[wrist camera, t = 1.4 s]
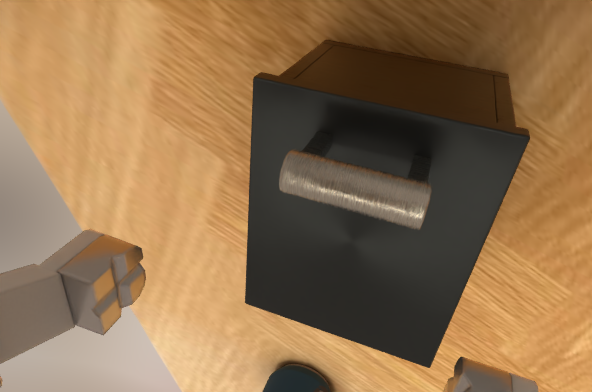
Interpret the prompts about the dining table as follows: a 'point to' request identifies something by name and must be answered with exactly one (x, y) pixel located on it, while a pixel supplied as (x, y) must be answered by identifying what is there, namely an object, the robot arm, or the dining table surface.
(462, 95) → the bin
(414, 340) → the bin lid
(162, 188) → the dining table surface
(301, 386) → the soda can
